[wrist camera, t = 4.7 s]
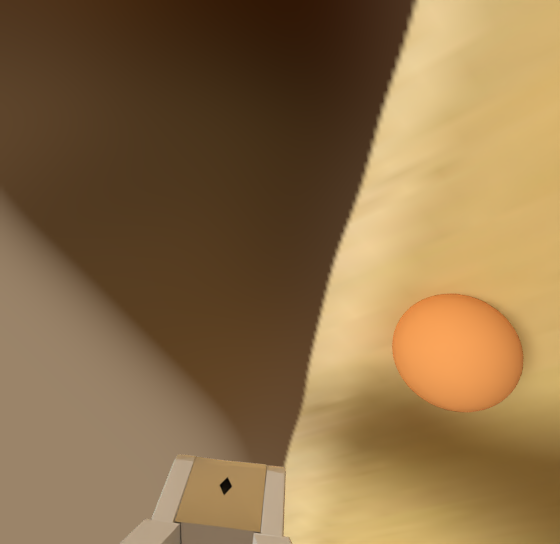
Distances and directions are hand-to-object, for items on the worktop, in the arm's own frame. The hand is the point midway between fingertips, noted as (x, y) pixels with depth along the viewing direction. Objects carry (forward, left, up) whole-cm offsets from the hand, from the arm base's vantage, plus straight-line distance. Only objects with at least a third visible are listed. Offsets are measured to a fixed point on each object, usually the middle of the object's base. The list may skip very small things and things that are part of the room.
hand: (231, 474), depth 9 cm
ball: (0, -10, -9) cm, 13 cm away
